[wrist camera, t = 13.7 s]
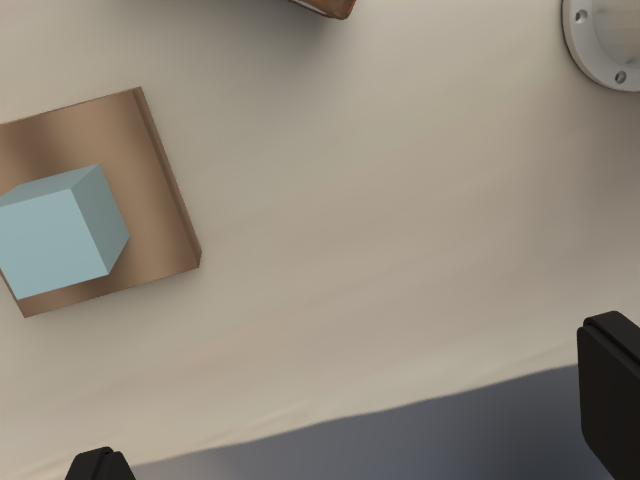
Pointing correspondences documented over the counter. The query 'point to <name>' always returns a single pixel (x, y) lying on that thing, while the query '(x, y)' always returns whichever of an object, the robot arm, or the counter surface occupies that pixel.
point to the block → (59, 231)
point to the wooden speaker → (328, 7)
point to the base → (123, 179)
